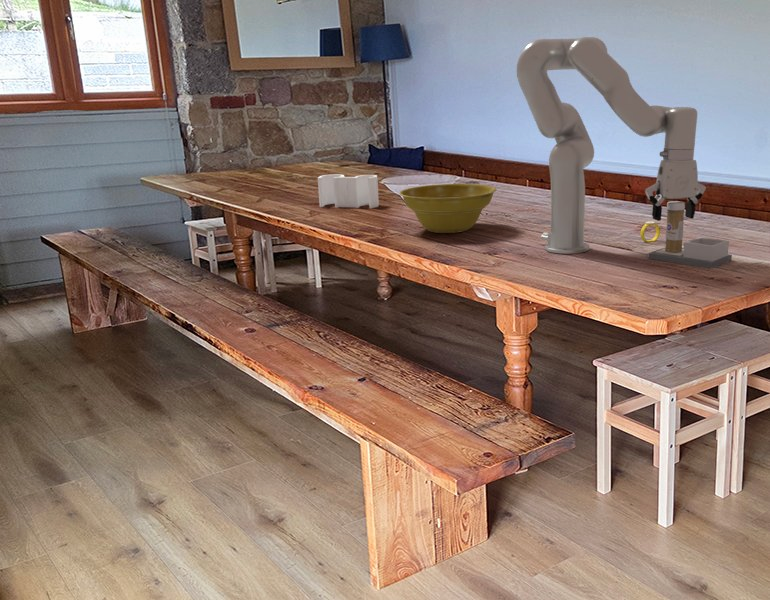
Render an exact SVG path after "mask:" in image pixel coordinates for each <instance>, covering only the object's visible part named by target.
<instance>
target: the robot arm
mask: <svg viewBox="0 0 770 600" xmlns="http://www.w3.org/2000/svg"><path fill="white" fill-rule="evenodd" d="M554 70H555V71H557V70H561V71H562V70H576V71H577V72H578V73H579V74H580V75H581V76H582V77H583V78H584V79H585V80H586V81H588V82H589V84H590V85H592V87H594V89H595V90H596V91H598V93H600V94H601V96H602V97H603V98H604V100H605V102H606V103H607V104H608V106H609V107H610V108H611V110H612V111H613V112H614V114H615V115H616V116H617V117H618V118H619V119H620V120H621V121H622V122H623V123H624V124H625V125H626V127H628V128H629V129H630V130H632V133H633V132H634V133H635V134H636V135H638V136H640V137H644V138H647V137H652V136H654V135H658V134H663V133H664V134H665V135H664V147H663V150H662V151H660V152H659V156H660V157H661V158H662V159H661V161H660V164H659V166H658V170H657V176H656V182H655V183H653V184H652V185H650V186H648V187H647V188H645V190H644V192H645V194H646V197H647V200H648V201H649V202H650V203H651V205H652V211H651V212H652V214H651V217H652V219H653V220H654V221H661V220H662V212H663V206H662V205H661V204H662V203H663V202H664V201H665V200H677V199H678V200H679V199H681V200H682V199H686V200H687V202H686V203H685V211H684V216H685V217H686V218H689V219H691V220H692V219H694V217H695V214H696V213H695V212H696V205H697V204H698V203H699V201H700V200H701V199H702V197H703V194H704V193H705V191H706V189H707V187H706V186H705V185H704V184H702V183H700V182H698V175H699V173H698V163H697V160H695V159H694V156H695V145H696V133H697V123H698V110H697V109H696V108H695V107H691V106H690V107H689V106H686V107H685V106H675V107H669V106H662V105H650V104H648V102H647V101H645V100H644V99H643V97H641V96H640V95H639V93H638V92H637V91H636V90H635V88H634V87H633V86H632V84H631V80H630V76H629V74H628V72H627V71H626V70H625V68H623V67H622V66H621V65H620V64H619V63H618V62H617V61H616V60H615V59H614V58H613V57H612V56H611V55H610V53H608V48H607V46H606V44H605V42H604V41H603V40H602V39H600V38H598V37H594V36H584V37H583V36H582V37H581V38H541V39H535V40H533V41H531V42H530V43H528V44H527V45H526V46H525V48H523V50H522V51H521V52H520V55H519V56H518V59H517V63H516V78H517V82H518V84H519V87H520V89H521V91H522V93H523V95H524V98H525V100H526V102H527V105H528V108H529V110H530V112H531V114H532V117H533V119H534V121H535V123H536V126H537V128H538V131H539V132H540V134H541V135H542V136H544V137H545V138H547V139H554V141H555V142H556V144H555V145H554V146H553V148H552V149H551V151H550V153H549V155H548V156H549V157H548V167H549V168H548V169H549V176H550V232H547V231H544V232H543V233H542V235H541V236H540V239H541V240H544V241H547V243H546V244H545V247H544V249H545V251H547V252H549V253H553V254H554V253H555V254H566V255H567V254H568V255H571V254H573V255H574V254H579V253H581V254H582V253H585V252H588V251H589V250H590V245H589V244H588V243H586V242H585V213H586V212H585V211H586V210H585V209H586V208H585V207H586V205H585V203H586V183H585V182H586V181H585V173H584V169H585V168H586V167H588V166H590V165H591V162H593V160H594V158H595V147H594V145H593V142H592V139H591V137H590V135H589V133H588V131H587V128H586V126H585V124H584V122H583V119H582V117H581V115H580V113H579V112H578V110H577V109H576V107H574V106H573V105H572V104H570V103H567V102H562V101H561V98H560V96H559V95H558V92H557V90H556V87H555V85H554V83H553V82H552V80H551V79H550V77H549V75H548V71H554ZM653 192H655V195H654V194H653Z"/></svg>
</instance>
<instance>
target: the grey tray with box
mask: <svg viewBox="0 0 770 600" xmlns="http://www.w3.org/2000/svg"><path fill="white" fill-rule="evenodd" d="M729 244H730V241H729V240H726V239H719V238H717V239H716V238H711V237H702V236H699V237H696V238H693V239H690V240H687V241H684V242H683V247H682V251H680V252H668V251H666V250H665V247H663V248H660V249H657V250H654V251H651V252H648V258H647V259H650V260H655V261H661V262H667V263H668V262H669V263H675V264H681V265H687V266H694V267H699V268H707V269H714V268H715V267H718V266H720V265H723V264H726V263H728V262H731V261H732V259H733V258H732V257H733V255H732V254H730V253H729Z"/></svg>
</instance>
